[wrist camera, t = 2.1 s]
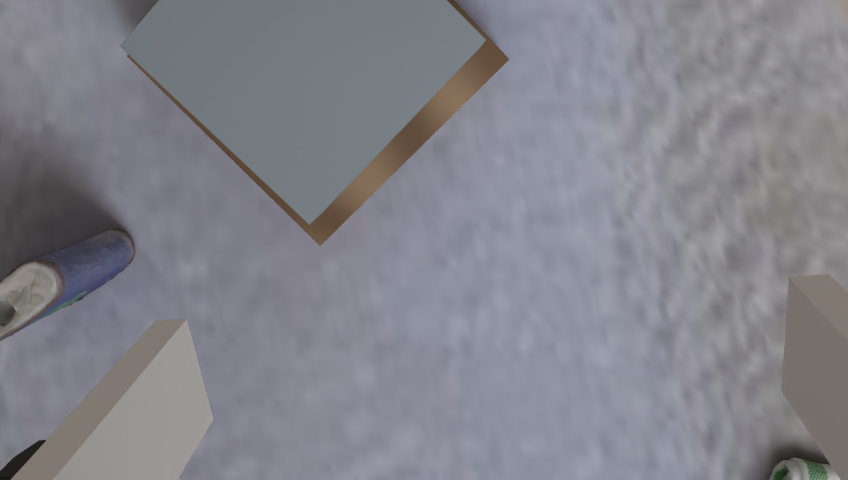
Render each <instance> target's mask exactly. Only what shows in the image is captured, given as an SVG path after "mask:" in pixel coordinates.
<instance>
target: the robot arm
mask: <svg viewBox="0 0 848 480" xmlns="http://www.w3.org/2000/svg"><path fill="white" fill-rule="evenodd" d="M782 392H783V394H784V395H785V397H786V398H787V400H788V401H789V403H790V404H791V406H792V407H793V409H794V410H795V412H796V413H797V415H798V416H799V418H800V419H801V421H802V422H803V424H804V425H805V427H806V428H807V430H808V431H809V433H810V434H811V436H812V437H813V439H814V440H815V442H816V443H817V445H818V447H819V448H820V450H821V451H822V453H823V454H824V456H825V457H826V459H827V460H828V462H829V463H830V465H831V466H832V468H833V469H834V471H835V472H836V474H837V475H838V477H839V478H840V480H848V293H847V292H846V291H845V290H844V289H843V288H842V287H841V286H840V285H839V284H838V283H837V282H836V281H835V280H834V279H832V278H831V277H830V276H829V275H828V274H826V275H812V276H797V277H789V285H788V301H787V316H786V331H785V346H784V362H783V377H782ZM212 422H213V416H212V413H211V409H210V405H209V401H208V397H207V394H206V390H205V386H204V382H203V378H202V375H201V371H200V367H199V363H198V359H197V355H196V352H195V348H194V344H193V340H192V336H191V333H190V329H189V325H188V321H187V319H178V320H163V321H155V322H154V323H153V324H152V325H151V326H150V327H149V329H148V330H147V331H146V332H145V333H144V334H143V335H142V336H141V337H140V338H139V340H138V341H137V342H136V343H135V344H134V345H133V346H132V347H131V348H130V349H129V350H128V352H127V353H126V354H125V355H124V356H123V357H122V358H121V359H120V360H119V361H118V363H117V364H116V365H115V366H114V367H113V368H112V369H111V370H110V371H109V372H108V374H107V375H106V376H105V377H104V378H103V379H102V380H101V381H100V382H99V383H98V384H97V386H96V387H95V388H94V389H93V390H92V391H91V392H90V393H89V394H88V395H87V397H86V398H85V399H84V400H83V401H82V402H81V403H80V404H79V405H78V406H77V408H76V409H75V410H74V411H73V412H72V413H71V414H70V415H69V416H68V417H67V418H66V420H65V421H64V422H63V423H62V424H61V425H60V426H59V427H58V428H57V429H56V431H55V432H54V433H53V434H52V435H51V436H50V437H49V438H48V439H47V440H39V441H38V442H36V443H35V444H33V445H32V446H30V447H29V448H27V449H26V450H24V451H23V452H21V453H20V454H18V455H17V456H15V457H14V458H13V459H12V460H11V461H10V462H9V463H8V464H7V465H6V466H5V467H4V468H3V469H2V470H1V471H0V480H178V479H179V477H180V475H181V474H182V472H183V470H184V469H185V467H186V465H187V464H188V462H189V460H190V459H191V457H192V455H193V454H194V452H195V450H196V449H197V447H198V445H199V443H200V442H201V440H202V438H203V437H204V435H205V433H206V432H207V430H208V428H209V427H210V425H211V423H212Z"/></svg>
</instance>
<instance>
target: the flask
mask: <svg viewBox="0 0 848 480" xmlns="http://www.w3.org/2000/svg"><path fill="white" fill-rule="evenodd" d="M133 246H134V249H133ZM134 255H135V245H134V242H133V241H132V239H131V237H129V235H128V234H127V233H126V232H125V231H119V230H114V229H112V230H108V231H104V232H102V233H100V234H99V235H96V236H94V237H91V238H89V239H86V240H83V241H81V242H78V243H76V244H73V245H71V246H68V247H66V248H63V249H60V250H57V251H54V252H52V253H49V254H46V255H41V256H39V257H37V258H33V259H30V260H28V261H25V262H23V263H22V264H20V265H19V266H17V267H16V268H15V269H13V270H12V271H11V272H10V273H9V274H8V275H7V276H6V277H5V278H3V279H2V280H1V281H0V341H1V340H3V339H5V338H7V337H9V336H11V335H13V334H14V333H16V332H18V331H19V330H21V329H23V328H25V327H27V326H29V325H31V324H33V323H34V322H36V321H38V320H40V319H41V318H43V317H45V316H47V315H50V314H52V313H53V312H55V311H57V310H59V309H61V308H64V307H66V306H69V305H72V303H74V302H76V301H79V300H80V299H82V298H83V297H85V296H86V295H87V294H89V293H91V292H92V291H94V290H96V289H97V288H99V287H101V286H102V285H104V284H105V283H106V282H107V281H108V280H110V279H112V278H114V277H115V276H116V275H117V274H118V273H119V272H122V271H123V270H125V268H126V267H127V266H128V265H129V264H130V263H131V262H132V260H133V256H134Z"/></svg>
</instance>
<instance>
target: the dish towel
mask: <svg viewBox="0 0 848 480" xmlns="http://www.w3.org/2000/svg"><path fill="white" fill-rule="evenodd" d="M769 480H840V478H839V477H838V475H837V474H836V472H835V471H834V469H833V468H832V466H831V465H827V464H820V463H816V462H812V461H808V460H804V459H799V458H791V459H789V460H782V461H781V462H780V463H779V464H777V465H776V466H775V467H774V469H773V472H772V474H771V477H770V479H769Z"/></svg>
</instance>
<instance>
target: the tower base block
mask: <svg viewBox="0 0 848 480" xmlns="http://www.w3.org/2000/svg"><path fill="white" fill-rule="evenodd" d="M447 1H448V2H449V3H450V4H451V5H452V6H453V7H454V8H455V9H456V10H457V11H458V12H459V13H460V14H461V15H462V16H463V17H464V18H465V19H466V20H467V21H468V22H469V23H470V24H471V25H472V26H473V27H474V28H475V29H476V30H477V31H478V32H479V33H480V34H481V35H482V36H483V37H484V38H485V39H486V41H485V42H484V43H483V45H482V46H481V47H480V49H479V50H478V51H477V52H476V53H475V54H474V55H473V56H472V57H471V58H470V59H469V60H468V61H467V62H466V63H465V64H464V65H463V66H462V67H461V68H460V69H459V71H458V72H457V73H456V74H455V75H454V76H453V77H452V78H451V79H450V80H449V81H448V82H447V83H446V84H445V85H444V86H443V87H442V88H441V89H440V90H439V91H438V92H437V94H436V95H435V96H434V97H433V98H432V99H431V100H430V101H429V102H428V103H427V104H426V105H425V106H424V107H423V108H422V109H421V110H420V111H419V112H418V113H417V114H416V115H415V117H414V118H413V119H412V120H411V121H410V122H409V123H408V124H407V125H406V126H405V127H404V128H403V129H402V130H401V131H400V132H399V133H398V134H397V135H396V136H395V137H394V138H393V140H392V141H391V142H390V143H389V144H388V145H387V146H386V147H385V148H384V149H383V150H382V151H381V152H380V153H379V154H378V155H377V156H376V157H375V158H374V159H373V160H372V161H371V163H370V164H369V165H368V166H367V167H366V168H365V169H364V170H363V171H362V172H361V173H360V174H359V175H358V176H357V177H356V178H355V179H354V180H353V181H352V182H351V183H350V184H349V186H348V187H347V188H346V189H345V190H344V191H343V192H342V193H341V194H340V195H339V196H338V197H337V198H336V199H335V200H334V201H333V202H332V203H331V204H330V205H329V206H328V207H327V209H326V210H325V211H324V212H323V213H322V214H321V215H319V216H318V217H317V218H316V219H315V220H314V221H313V222H312V223H311V224H310V225H309V224H308V223H307V222H306V221H305V220H304V219H303V218H302V217H301V216H300V215H299V214H298V213H296V212H295V211H294V210H293V209H292V208H291V207H290V206H289V205H288V204H287V203H286V202H285V201H284V200H283V199H282V198H281V197H279V196H278V195H277V194H276V193H275V192H274V191H273V190H272V189H271V188H270V187H269V186H268V185H267V184H266V183H265V182H264V181H262V180H261V179H260V178H259V177H258V176H257V175H256V174H255V173H254V172H253V171H252V170H251V169H250V168H249V167H248V166H247V165H245V164H244V163H243V162H242V161H241V160H240V159H239V158H238V157H237V156H236V155H235V154H234V153H233V152H232V151H231V150H229V149H228V148H227V147H226V146H225V145H224V144H223V143H222V142H221V141H220V140H219V139H218V138H217V137H216V136H215V135H214V134H212V133H211V132H210V131H209V130H208V129H207V128H206V127H205V126H204V125H203V124H202V123H201V122H200V121H199V120H198V119H197V118H195V117H194V116H193V115H192V114H191V113H190V112H189V111H188V110H187V109H186V108H185V107H184V106H183V105H182V104H181V103H180V102H178V101H177V100H176V99H175V98H174V97H173V96H172V95H171V94H170V93H169V92H168V91H167V90H166V89H165V88H164V87H163V86H161V85H160V84H159V83H158V82H157V81H156V80H155V79H154V78H153V77H152V76H151V75H150V74H149V73H148V72H147V71H146V70H144V69H143V68H142V67H141V66H140V65H139V64H138V63H137V62H136V61H135V60H134V59H133V58H132V57H131V56H130V55H129V54H128V55H127V57H128V58H129V59H130V60H131V61H132V62H133V63H135V64H136V65H137V66H138V67H139V68H140V69H141V70H142V71H143V72H144V73H145V74H146V75H147V76H148V77H149V78H150V79H151V80H152V81H153V82H154V83H155V84H156V85H157V86H158V87H159V88H160V89H161V90H162V91H163V92H164V93H165V94H166V95H167V96H168V97H169V98H170V99H171V100H172V101H173V102H174V103H175V104H176V105H177V106H178V107H179V108H180V109H181V110H182V111H183V112H184V113H185V114H186V115H187V116H188V117H189V118H190V119H191V120H193V121H194V122H195V123H196V124H197V125H198V126H199V127H200V128H201V129H202V130H203V131H204V132H205V133H206V134H207V135H208V136H209V137H210V138H211V139H212V140H213V141H214V142H215V143H216V144H217V145H218V146H219V147H220V148H221V149H222V150H223V151H224V152H225V153H226V154H227V155H228V156H229V157H230V158H231V159H232V160H233V161H234V162H235V163H236V164H237V165H238V166H239V167H240V168H241V169H242V170H243V171H244V172H245V173H246V174H247V175H248V176H250V177H251V178H252V179H253V180H254V181H255V182H256V183H257V184H258V185H259V186H260V187H261V188H262V189H263V190H264V191H265V192H266V193H267V194H268V195H269V196H270V197H271V198H272V199H273V200H274V201H275V202H276V203H277V204H278V205H279V206H280V207H281V208H282V209H283V210H284V211H285V212H286V213H287V214H288V215H289V216H290V217H291V218H292V219H293V220H294V221H295V222H296V223H297V224H298V225H299V226H300V227H301V228H302V229H303V230H304V231H305V232H307V233H308V234H309V235H310V236H311V237H312V238H313V239H314V240H315V241H316V242H317V243H318V244H319V245H322V244H323V243H324V242H325V241H326V240H327V239H328V238H329V237H330V236H331V235H332V234H333V233H334V232H335V231H336V230H337V229H338V228H339V227H340V226H341V225H342V224H343V223H344V222H345V221H346V220H347V219H348V218H349V217H350V216H351V215H352V214H353V213H354V212H355V211H356V210H357V209H358V208H359V207H360V206H361V205H362V204H363V203H364V202H365V201H366V200H367V199H368V198H369V197H370V196H371V195H372V194H373V193H374V192H375V191H376V190H377V189H378V188H379V187H380V186H381V185H382V184H383V183H384V182H385V181H386V180H387V179H388V178H389V177H390V176H391V175H392V174H393V173H395V172H396V171H397V170H398V169H399V168H400V167H401V166H402V165H403V164H404V163H405V162H406V161H407V160H408V159H409V158H410V157H411V156H412V155H413V154H414V153H415V152H416V151H417V150H418V149H419V148H420V147H421V146H422V145H423V144H424V143H425V142H426V141H427V140H428V139H429V138H430V137H431V136H432V135H433V134H434V133H435V132H436V131H437V130H438V129H439V128H440V127H441V126H442V125H443V124H444V123H445V122H446V121H447V120H448V119H449V118H450V117H451V116H452V115H453V114H454V113H455V112H456V111H457V110H458V109H459V108H460V107H461V106H462V105H463V104H464V103H465V102H467V101H468V100H469V99H470V98H471V97H472V96H473V95H474V94H475V93H476V92H477V91H478V90H479V89H480V88H481V87H482V86H483V85H484V84H485V83H486V82H487V81H488V80H489V79H490V78H491V77H492V76H493V75H494V74H495V73H496V72H497V71H498V70H499V69H500V68H501V67H502V66H503V65H504V64H505V63H506V62H507V61H508V60H509V59H508V58H507V56H506V55H505V54H504V53H503V52H502V51H501V50H500V49H499V48H498V47H497V46H496V45H495V44H494V43H493V41H492V40H491V39H490V38H489V37H488V36H487V35H486V34H485V33H484V32H483V31H482V30H481V29H480V28H479V27H478V25H477V24H476V23H475V22H474V21H473V20H472V19H471V18H470V17H469V16H468V15H467V14H466V13H465V12H464V10H463V9H462V8H461V7H460V6H459V5H458V4H457V3H456V2H455V1H454V0H447Z"/></svg>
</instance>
